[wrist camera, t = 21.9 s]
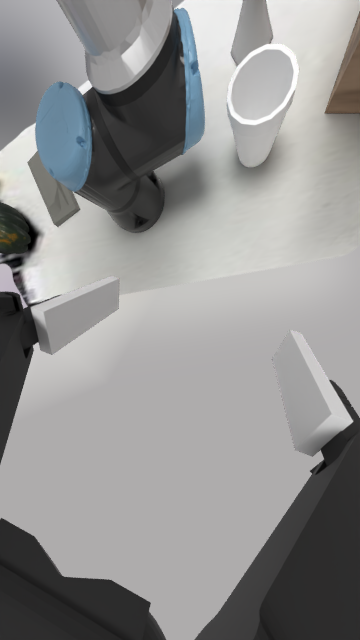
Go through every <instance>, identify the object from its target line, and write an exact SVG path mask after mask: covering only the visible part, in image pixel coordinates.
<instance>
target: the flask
mask: <svg viewBox="0 0 360 640" xmlns="http://www.w3.org/2000/svg"><path fill="white" fill-rule="evenodd" d="M272 37H273V33H272V28H271V24H270V20H269V15H268V10H267V4H266V0H243V3H242V8H241V13H240V17H239V21H238V26H237V30H236V34H235V38H234V41H233V45H232V50H231V54H232V56H233V58H234V60H235V63H236V65H237V66H238V65H239V64H240V63H241V62H242V61H243V60H244V59H245V58H246V57H247V55H248V54H249V53H250V52H252V51H254V50H256V49H258V48H260V47H262V46H264V45H266V44H270V42H271V40H272Z"/></svg>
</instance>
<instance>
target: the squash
mask: <svg viewBox="0 0 360 640" xmlns="http://www.w3.org/2000/svg"><path fill="white" fill-rule="evenodd" d="M28 232H29V227H28V225H27V224H26V222H25V220H24V218H23V217H22V215H21V214H20V213H19V212H18V211H17V210H16V209H14V208H12V207H11V206H9V205H6V204H4V203H0V253H2V254H12V253H16V254H20V253H25V252H26V251H27V250H28V244H29V243H30V242H31V237H30V236H29V234H28Z"/></svg>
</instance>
